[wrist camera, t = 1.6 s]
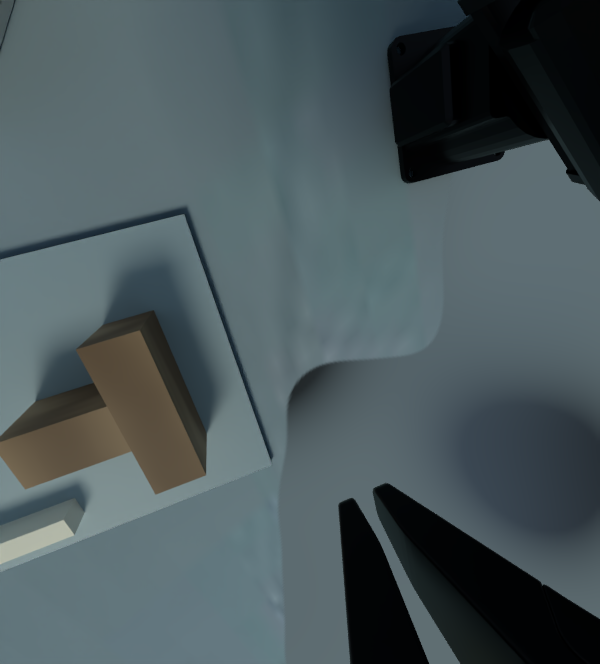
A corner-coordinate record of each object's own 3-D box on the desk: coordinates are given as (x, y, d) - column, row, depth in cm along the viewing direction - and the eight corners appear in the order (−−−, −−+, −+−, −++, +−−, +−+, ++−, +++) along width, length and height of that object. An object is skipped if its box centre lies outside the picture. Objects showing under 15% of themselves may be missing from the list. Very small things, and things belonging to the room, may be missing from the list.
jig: (184, 214, 16) (181, 212, 14) (271, 461, 21) (276, 481, 20) (-394, 357, 12) (-495, 379, 10) (-104, 607, 18) (-137, 648, 16)
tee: (153, 309, 16) (139, 330, 13) (206, 433, 19) (206, 475, 16) (4, 353, 15) (-52, 387, 12) (84, 478, 18) (57, 532, 15)
